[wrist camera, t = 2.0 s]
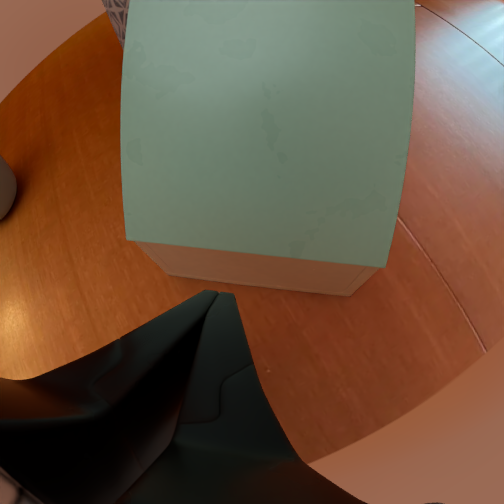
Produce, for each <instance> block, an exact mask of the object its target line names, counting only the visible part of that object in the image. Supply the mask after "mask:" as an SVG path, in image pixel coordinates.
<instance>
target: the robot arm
mask: <svg viewBox="0 0 504 504" xmlns="http://www.w3.org/2000/svg"><path fill="white" fill-rule="evenodd" d="M0 504H367V503H365V502H363V501H361V500H359V499H357V498H356V497H354V496H353V495H351V494H349V493H348V492H346V491H344V490H343V489H342V488H340V487H338V486H337V485H335V484H334V483H332V482H331V481H329V480H328V479H326V478H325V477H324V476H322V475H321V474H319V473H318V472H316V471H315V470H314V469H312V468H311V467H309V466H308V465H307V464H306V463H305V462H304V461H303V460H302V459H301V458H300V457H299V456H298V454H297V453H296V451H295V450H294V448H293V447H292V445H291V443H290V442H289V440H288V438H287V436H286V434H285V433H284V431H283V429H282V427H281V425H280V423H279V421H278V420H277V418H276V416H275V414H274V412H273V410H272V408H271V406H270V404H269V402H268V400H267V398H266V396H265V394H264V392H263V389H262V386H261V384H260V381H259V378H258V375H257V372H256V368H255V365H254V362H253V359H252V355H251V352H250V348H249V345H248V342H247V338H246V335H245V331H244V328H243V324H242V320H241V317H240V313H239V310H238V306H237V303H236V299H235V295H234V294H233V293H227V292H220V293H219V292H218V291H212V290H204V291H202V292H200V293H198V294H197V295H195V296H193V297H191V298H190V299H188V300H186V301H184V302H182V303H181V304H179V305H177V306H175V307H174V308H172V309H170V310H168V311H167V312H165V313H163V314H161V315H160V316H158V317H156V318H154V319H152V320H151V321H149V322H147V323H145V324H144V325H142V326H140V327H138V328H136V329H135V330H133V331H131V332H129V333H127V334H126V335H124V336H122V337H120V339H117V340H115V341H113V342H111V343H109V344H108V345H106V346H104V347H102V348H100V349H98V350H96V351H94V352H92V353H90V354H88V355H86V356H84V357H81V358H79V359H77V360H75V361H73V362H70V363H68V364H66V365H63V366H61V367H59V368H56V369H54V370H52V371H49V372H47V373H44V374H42V375H40V376H37V377H34V378H31V379H26V380H11V379H5V378H0ZM427 504H443V503H427Z"/></svg>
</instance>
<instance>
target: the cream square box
mask: <svg viewBox="0 0 504 504" xmlns="http://www.w3.org/2000/svg"><path fill="white" fill-rule="evenodd" d="M134 242H135V243H136V244H137V245H138V246H139V247H140V248H141V249H142V250H143V251H144V252H145V253H146V254H147V255H148V256H149V257H150V258H151V259H152V260H153V261H154V262H155V263H156V264H157V265H158V266H160V267H161V268H162V269H163V270H164V271H165V272H166V273H167V274H168V275H171V276H178V277H185V278H193V279H200V280H208V281H215V282H223V283H231V284H239V285H248V286H256V287H265V288H273V289H282V290H291V291H301V292H310V293H320V294H330V295H341V296H351V295H352V294H353V293H354V292H355V291H356V290H357V289H358V288H359V287H361V286H362V285H363V284H364V283H365V282H366V281H367V280H368V279H369V278H370V277H371V276H372V275H373V274H374V273H375V272H376V271H377V270H378V269H379V267H369V266H360V265H351V264H341V263H332V262H323V261H314V260H304V259H295V258H286V257H277V256H268V255H258V254H249V253H240V252H231V251H222V250H213V249H204V248H195V247H186V246H176V245H167V244H158V243H149V242H140V241H134Z"/></svg>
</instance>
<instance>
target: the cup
mask: <svg viewBox="0 0 504 504" xmlns="http://www.w3.org/2000/svg"><path fill="white" fill-rule="evenodd" d="M16 192H17V181H16V177H15V175H14V173H13V171H12V169H11V168H10V166H9V165H8V164H7V162H6V161H5V160H4V159H3V157H2V156H1V155H0V220H1V219H2V218H3V217H4V216H5V215H6V214H7V213H8V211H9V210H10V208H11V206H12V204H13V202H14V199H15V196H16Z"/></svg>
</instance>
